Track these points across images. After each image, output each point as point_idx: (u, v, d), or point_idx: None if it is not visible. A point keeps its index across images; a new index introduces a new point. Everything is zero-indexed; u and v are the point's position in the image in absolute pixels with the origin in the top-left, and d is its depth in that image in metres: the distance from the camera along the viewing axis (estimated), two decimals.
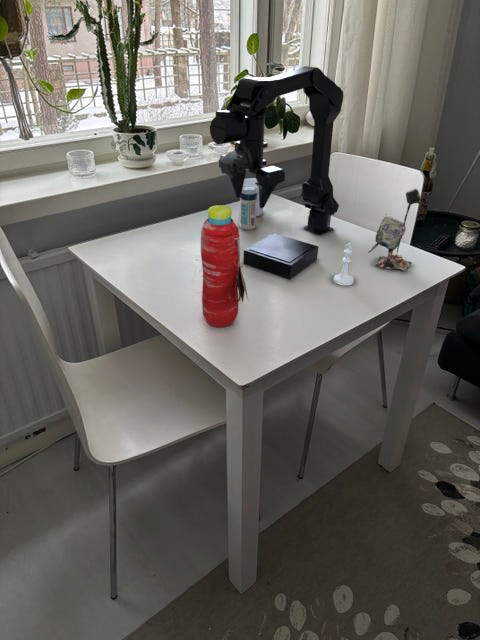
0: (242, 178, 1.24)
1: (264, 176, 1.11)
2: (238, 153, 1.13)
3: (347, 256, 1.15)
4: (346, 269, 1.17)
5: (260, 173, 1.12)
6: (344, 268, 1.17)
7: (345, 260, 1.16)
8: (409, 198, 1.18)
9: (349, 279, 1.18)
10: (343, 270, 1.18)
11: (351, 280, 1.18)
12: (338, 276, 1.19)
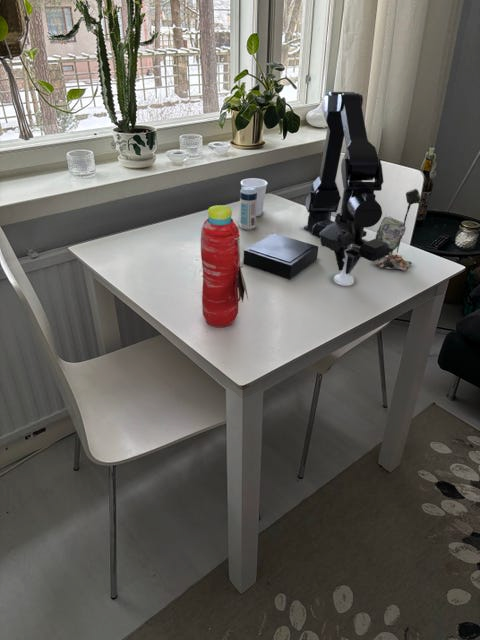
0: None
1: (370, 252, 1.06)
2: (340, 226, 1.08)
3: (347, 256, 1.15)
4: None
5: (365, 248, 1.07)
6: (344, 268, 1.17)
7: (345, 260, 1.16)
8: (409, 198, 1.18)
9: (350, 279, 1.18)
10: (343, 270, 1.18)
11: (351, 280, 1.18)
12: (338, 276, 1.19)
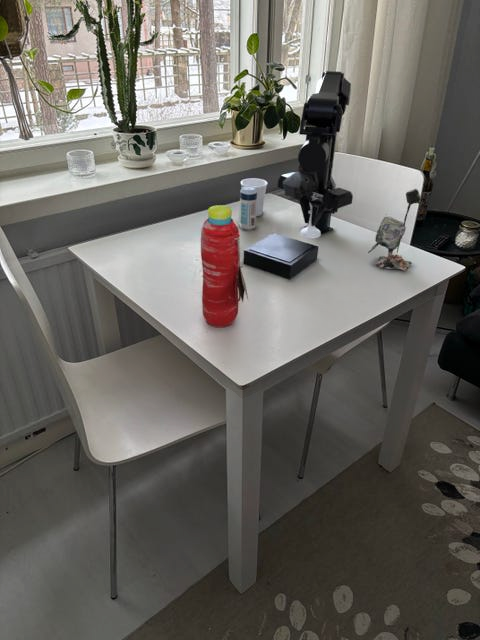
0: None
1: (333, 199, 1.06)
2: (303, 175, 1.08)
3: None
4: None
5: (328, 196, 1.07)
6: (310, 221, 1.17)
7: (311, 212, 1.15)
8: (409, 198, 1.18)
9: (316, 232, 1.18)
10: (309, 223, 1.17)
11: (318, 233, 1.18)
12: (305, 229, 1.19)
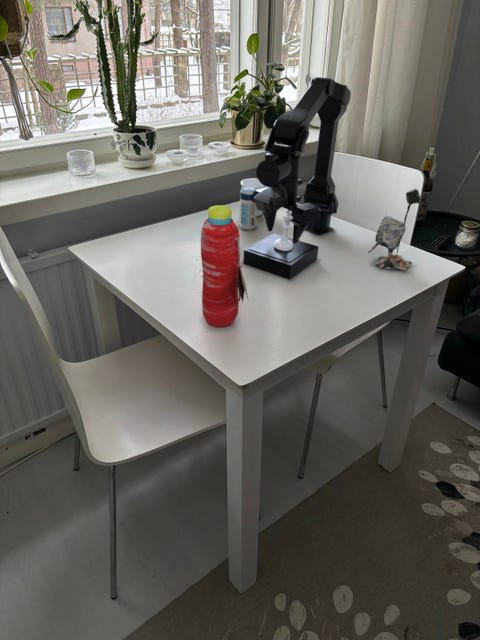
0: (274, 212, 1.25)
1: (300, 214, 1.12)
2: (274, 190, 1.14)
3: (287, 223, 1.20)
4: (285, 235, 1.23)
5: (296, 211, 1.13)
6: (284, 234, 1.23)
7: (285, 226, 1.21)
8: (409, 198, 1.18)
9: (288, 245, 1.24)
10: (283, 236, 1.23)
11: (290, 246, 1.24)
12: (278, 241, 1.25)
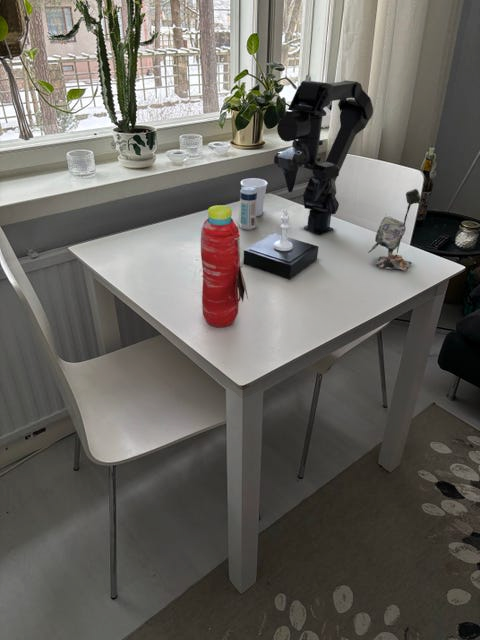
0: (294, 174, 1.33)
1: (321, 170, 1.20)
2: (296, 149, 1.23)
3: (284, 222, 1.21)
4: (284, 235, 1.23)
5: (317, 168, 1.21)
6: (282, 234, 1.23)
7: (283, 226, 1.22)
8: (409, 198, 1.18)
9: (288, 245, 1.24)
10: (282, 236, 1.23)
11: (290, 246, 1.24)
12: (278, 242, 1.25)
